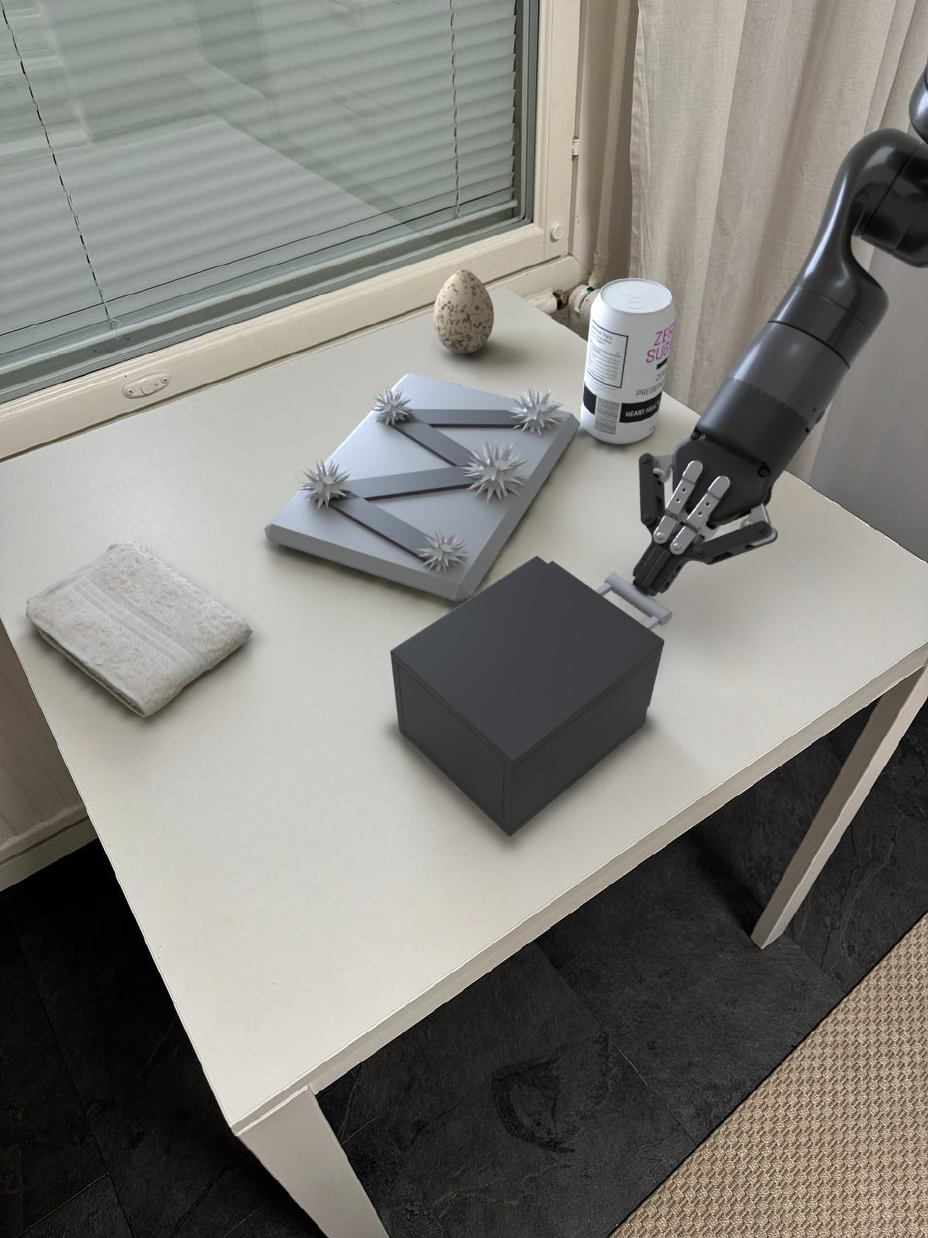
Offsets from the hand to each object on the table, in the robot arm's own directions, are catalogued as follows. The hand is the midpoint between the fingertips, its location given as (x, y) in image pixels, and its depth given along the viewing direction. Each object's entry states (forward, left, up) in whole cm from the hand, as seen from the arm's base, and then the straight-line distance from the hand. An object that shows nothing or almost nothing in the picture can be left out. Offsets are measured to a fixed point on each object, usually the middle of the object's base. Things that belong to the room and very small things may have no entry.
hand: (643, 590), depth 71 cm
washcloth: (+29, +31, -6) cm, 43 cm away
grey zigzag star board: (+28, -1, -6) cm, 29 cm away
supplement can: (+22, -23, -6) cm, 32 cm away
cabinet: (0, +13, -6) cm, 15 cm away
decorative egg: (+45, -21, -6) cm, 50 cm away
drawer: (0, +9, -5) cm, 11 cm away
